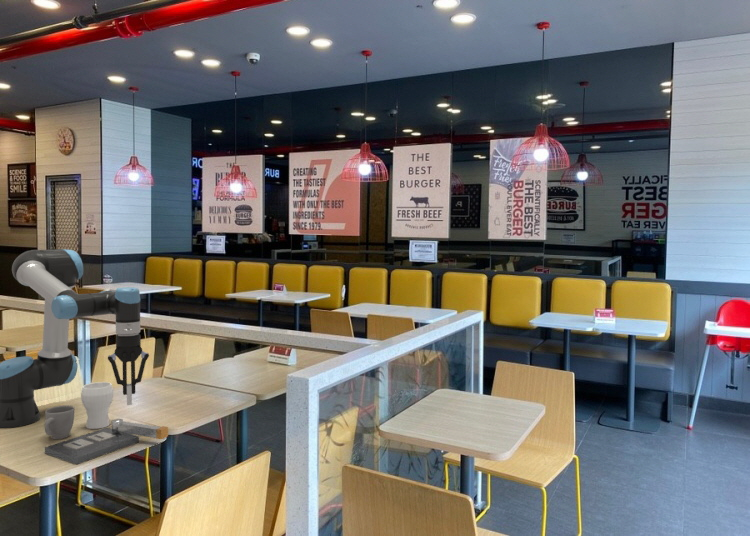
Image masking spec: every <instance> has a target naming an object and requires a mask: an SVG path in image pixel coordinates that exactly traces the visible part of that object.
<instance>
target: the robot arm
mask: <svg viewBox="0 0 750 536" xmlns="http://www.w3.org/2000/svg"><path fill="white" fill-rule="evenodd" d="M11 272H12V276H13V278H14V279H15V280H16V281H17V282H18V283H19V284H21V285H23V286H25V287H30V289H32V291H35V292H36V294H38V295H39V296H41V297H42V298H43V299H44V310H43V311H44V312H43V313H44V314H43V330H42V331H43V332H42V348H41V349H40V350H39V351H38V352H37V356H36V357H37V358H35V359H34V358H33V357H32V356H28V355H27V356H26V355H24V356H17V357H11V358H9V359H6V360H3V361H1V362H0V428H1V429H8V428H9V429H10V428H19V427H23V426H27V425H31V424H33V423H35V422H38V421H40V419H41V415H40V414H41V413H40V410H39V407H38V405H37V403H36V400H35V393H34V392H35V391H38V390H43V389H47V388H53V387H61V386H64V385H66V384H69V383H71V382H72V381H73V380H74V379H75V378H76V376H77V373H78V368H79V367H78V362H77V361H78V359H77V357H76V356H75V355H74V354H73V352H72V350H71V349H69V348H68V347H69V330H70V320H72V319H77V318H84V317H96V316H103V315H115V333H116V335H115V349H114V352H113V353H112V354H109V355H108V356H107V361H109V363H110V364H111V367H112V372H113V373H114V377H115V382H116V384H117V385H121V386H122V395H123V396H126V405H127V406H131V405H133V397H132V396H133V395H135V394H136V385H137V384H139V383H141V381H142V378H143V374H144V371H145V366H146V362H147V360H148V359H149V357H150V354H149V352H145V351H143V348H142V346H141V345H142V344H141V339H142V338H141V336H142V335H141V334H140V333H141V296H140V295H141V294H140V289H139V288H138V287H129V286H128V287H118V288H116V289H115V291H111V290H108V291H107V290H104V291H100V292H94V293H93V292H91V293H77V292H76V291H75V290H73V288H74V287H76V284H77V280H80V279H82V276H83V275H84V264H83V260H82V258H81V256H80V254H79V253H77V252H76V251H75V250H73V249H64V248H59V249H31V250H26V251H24V252H22V253H21V254H19V255H18V256H17V257H16V258H15V260H14V261H13V263H12V266H11ZM116 357H117V358H118V359H119V360H120V362H122V379H121V376H120V373H119V369H118V365H117V363H116V360H117V358H116ZM139 357H141V361H140V364H139V370H138V372H137V373H138V374H137V377H136V361H137V360H138V359H139ZM128 363H130V381H131V382H130V383H128V377H127V375H128V374H127V373H128V372H127V370H128V369H127V368H128V367H127V364H128Z"/></svg>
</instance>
